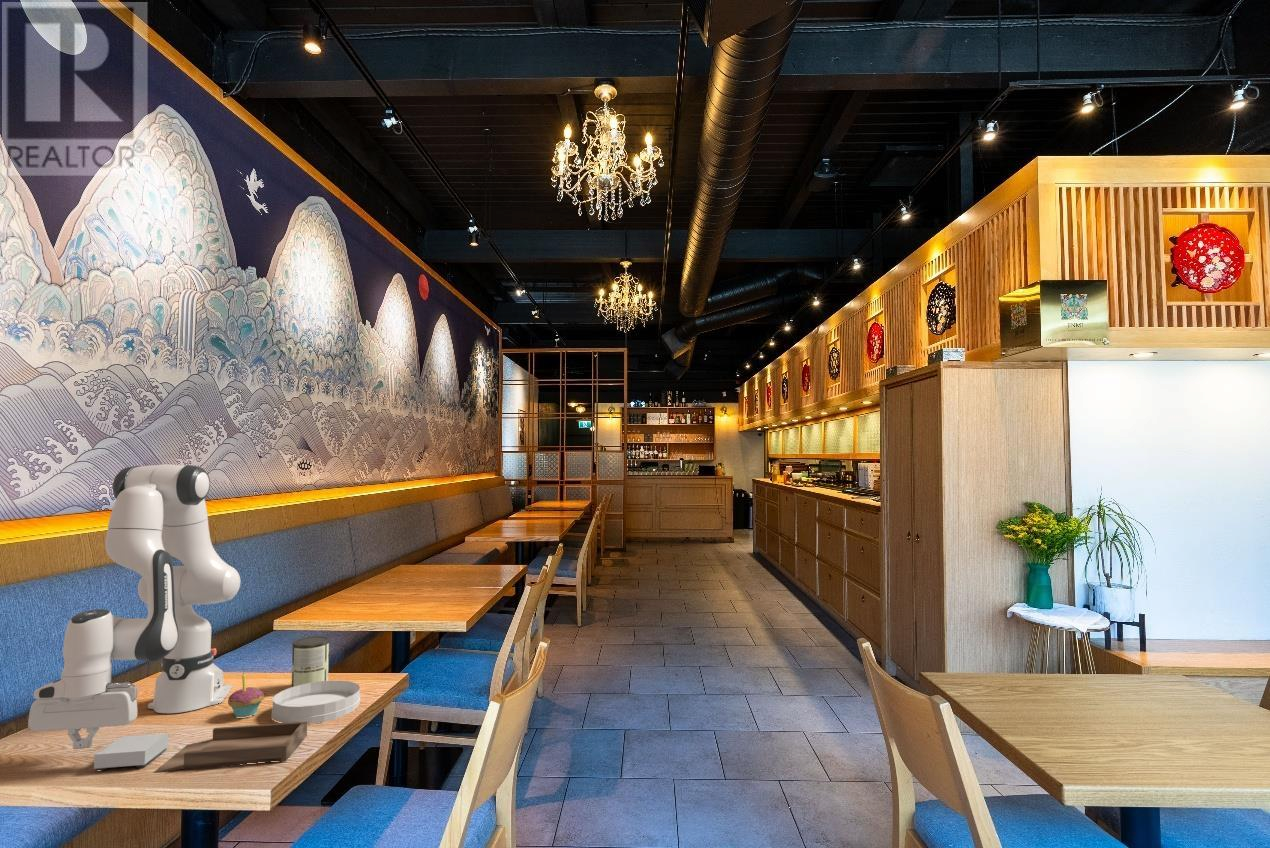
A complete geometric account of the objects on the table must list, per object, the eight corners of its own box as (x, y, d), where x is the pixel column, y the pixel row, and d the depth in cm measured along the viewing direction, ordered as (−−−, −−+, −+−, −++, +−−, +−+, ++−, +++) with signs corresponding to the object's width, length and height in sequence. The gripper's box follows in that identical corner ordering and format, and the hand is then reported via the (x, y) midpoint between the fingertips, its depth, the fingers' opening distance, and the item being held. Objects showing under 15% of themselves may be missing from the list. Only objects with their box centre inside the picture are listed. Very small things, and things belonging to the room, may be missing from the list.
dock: (186, 747, 159) (187, 729, 159) (306, 738, 164) (307, 721, 164) (153, 775, 144) (154, 755, 145) (285, 764, 149) (286, 745, 149)
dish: (376, 699, 191) (376, 682, 191) (327, 729, 169) (328, 709, 169) (307, 696, 194) (307, 678, 195) (251, 724, 173) (252, 704, 173)
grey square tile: (120, 754, 154) (121, 736, 155) (167, 750, 156) (168, 733, 156) (93, 773, 144) (94, 754, 145) (144, 769, 146) (145, 750, 147)
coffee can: (285, 688, 201) (286, 640, 202) (318, 679, 209) (320, 634, 210) (300, 695, 194) (301, 646, 195) (334, 686, 202) (335, 639, 203)
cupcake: (255, 720, 175) (257, 673, 176) (220, 722, 173) (222, 675, 174) (268, 708, 183) (269, 664, 184) (235, 710, 182) (236, 666, 183)
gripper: (145, 677, 155) (141, 738, 153) (45, 683, 151) (41, 746, 150) (129, 685, 148) (126, 749, 147) (25, 691, 145) (20, 757, 143)
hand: (82, 747), depth 148 cm, fingers closed
